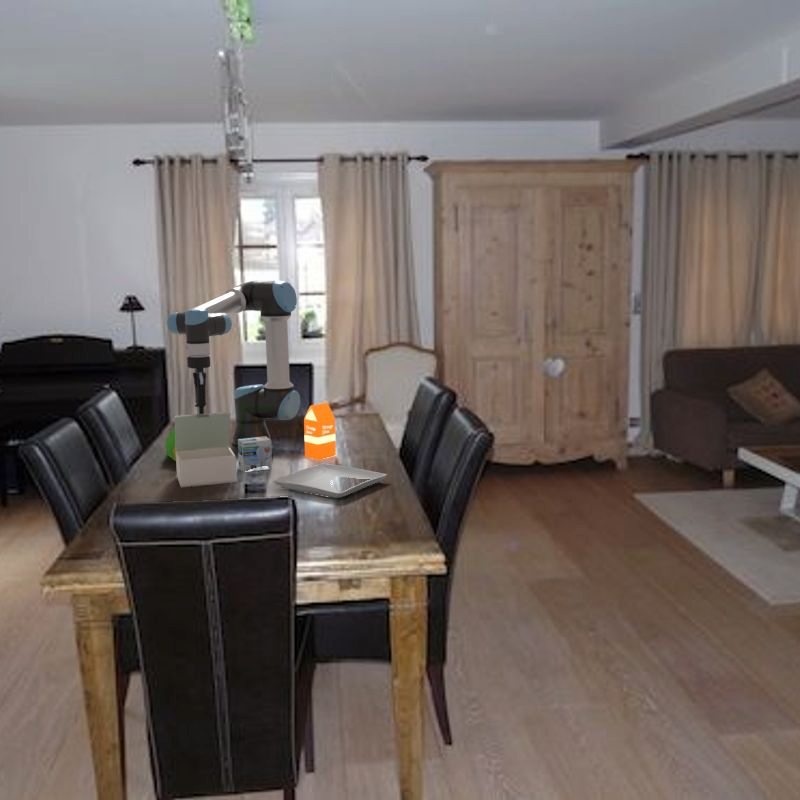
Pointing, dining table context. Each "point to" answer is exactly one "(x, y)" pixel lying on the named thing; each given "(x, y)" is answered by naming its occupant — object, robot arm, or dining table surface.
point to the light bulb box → (254, 453)
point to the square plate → (327, 479)
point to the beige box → (206, 466)
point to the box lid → (202, 431)
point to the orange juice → (319, 432)
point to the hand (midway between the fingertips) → (201, 424)
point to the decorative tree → (172, 446)
